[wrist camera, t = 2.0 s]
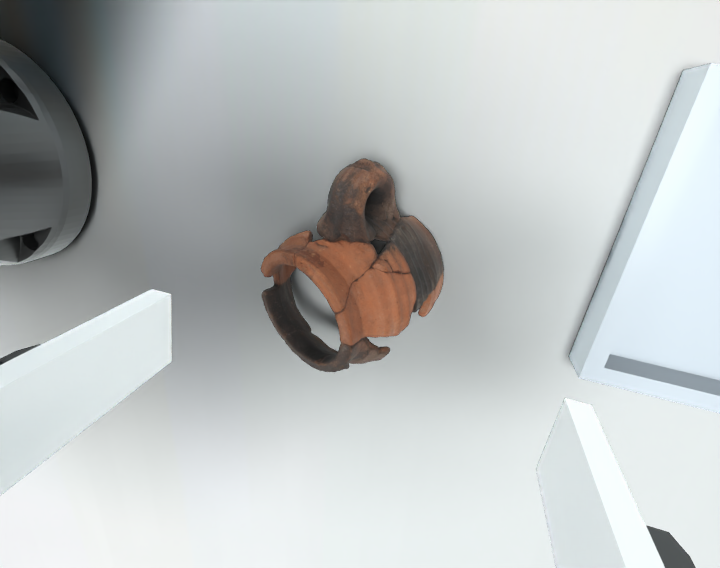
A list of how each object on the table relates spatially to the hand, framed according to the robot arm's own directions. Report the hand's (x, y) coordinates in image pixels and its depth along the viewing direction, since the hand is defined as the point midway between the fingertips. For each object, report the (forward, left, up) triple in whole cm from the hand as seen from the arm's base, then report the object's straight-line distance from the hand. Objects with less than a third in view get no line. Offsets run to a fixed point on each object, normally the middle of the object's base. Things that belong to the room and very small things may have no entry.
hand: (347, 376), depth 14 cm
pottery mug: (-1, +1, -15) cm, 15 cm away
